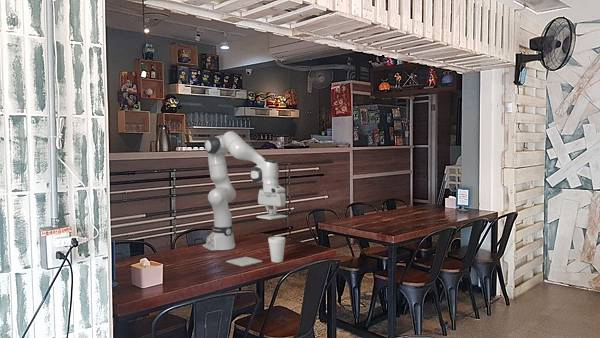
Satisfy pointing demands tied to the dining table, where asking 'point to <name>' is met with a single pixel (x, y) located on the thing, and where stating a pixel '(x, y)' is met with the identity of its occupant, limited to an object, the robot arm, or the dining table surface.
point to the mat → (244, 261)
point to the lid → (271, 215)
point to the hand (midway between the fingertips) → (271, 213)
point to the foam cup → (276, 248)
